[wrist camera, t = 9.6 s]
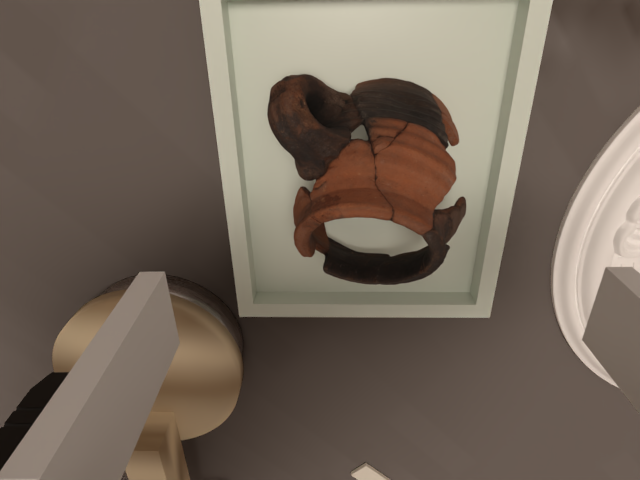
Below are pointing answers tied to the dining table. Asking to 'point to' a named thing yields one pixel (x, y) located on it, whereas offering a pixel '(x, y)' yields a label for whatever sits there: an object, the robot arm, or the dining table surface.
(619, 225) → the ceiling medallion
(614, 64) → the dining table surface
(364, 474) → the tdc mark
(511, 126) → the tray
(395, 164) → the pottery mug
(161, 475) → the crank
